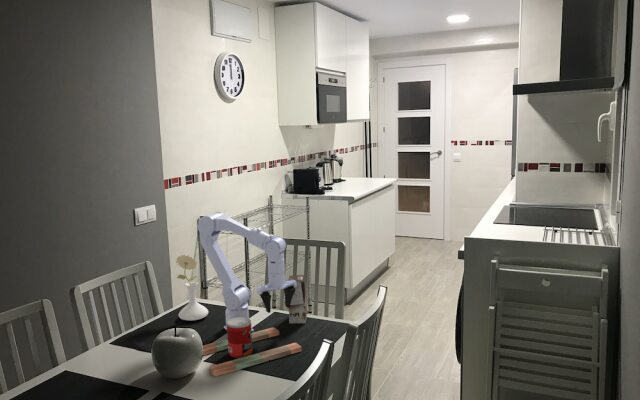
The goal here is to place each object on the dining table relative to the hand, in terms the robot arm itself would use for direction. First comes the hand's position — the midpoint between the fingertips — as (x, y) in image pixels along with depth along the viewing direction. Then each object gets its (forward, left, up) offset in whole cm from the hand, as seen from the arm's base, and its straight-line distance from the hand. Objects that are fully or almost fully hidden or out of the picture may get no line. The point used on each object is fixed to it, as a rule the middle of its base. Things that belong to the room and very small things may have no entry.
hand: (278, 309), depth 184 cm
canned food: (+6, -17, -10) cm, 21 cm away
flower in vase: (-35, -20, -10) cm, 41 cm away
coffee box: (-9, +13, -10) cm, 18 cm away
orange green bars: (+6, -15, -9) cm, 19 cm away
